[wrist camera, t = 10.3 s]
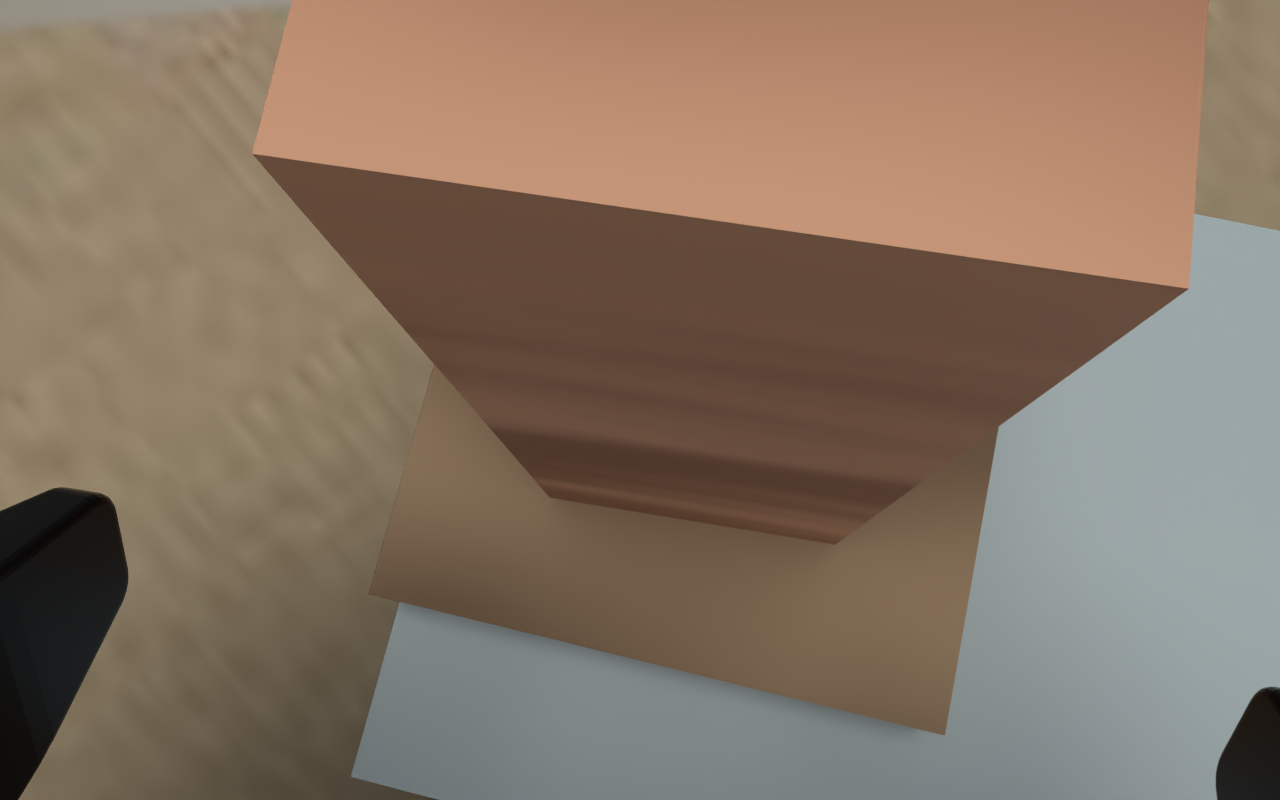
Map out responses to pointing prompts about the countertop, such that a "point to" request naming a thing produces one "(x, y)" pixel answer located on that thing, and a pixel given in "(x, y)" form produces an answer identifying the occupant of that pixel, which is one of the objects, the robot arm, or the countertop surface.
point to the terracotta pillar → (748, 223)
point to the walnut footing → (693, 575)
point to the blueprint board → (994, 624)
